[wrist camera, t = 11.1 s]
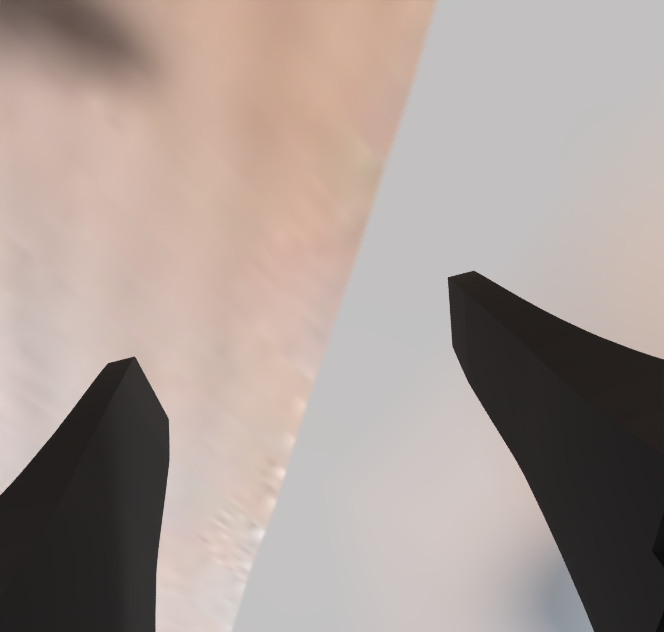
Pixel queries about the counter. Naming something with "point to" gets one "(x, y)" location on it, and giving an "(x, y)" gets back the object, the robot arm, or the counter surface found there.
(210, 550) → the counter surface
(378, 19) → the counter surface
